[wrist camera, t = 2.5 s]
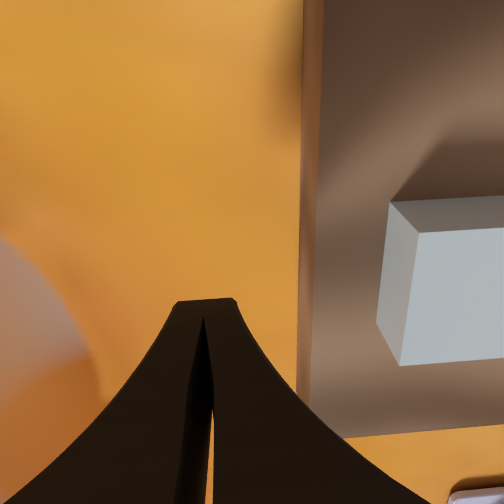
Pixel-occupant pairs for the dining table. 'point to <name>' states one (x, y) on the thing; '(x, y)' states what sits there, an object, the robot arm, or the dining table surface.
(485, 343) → the grey blue tile
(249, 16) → the dining table surface
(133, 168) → the dining table surface
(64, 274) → the dining table surface
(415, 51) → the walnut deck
